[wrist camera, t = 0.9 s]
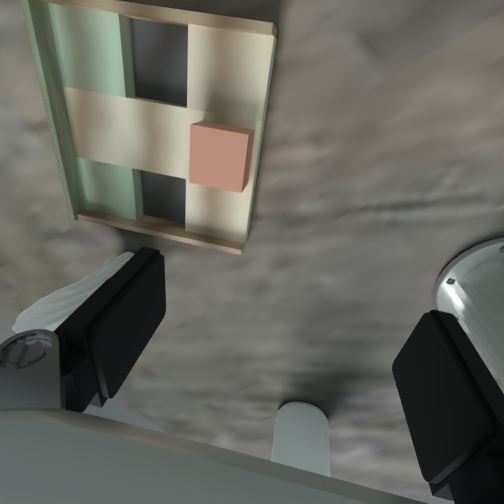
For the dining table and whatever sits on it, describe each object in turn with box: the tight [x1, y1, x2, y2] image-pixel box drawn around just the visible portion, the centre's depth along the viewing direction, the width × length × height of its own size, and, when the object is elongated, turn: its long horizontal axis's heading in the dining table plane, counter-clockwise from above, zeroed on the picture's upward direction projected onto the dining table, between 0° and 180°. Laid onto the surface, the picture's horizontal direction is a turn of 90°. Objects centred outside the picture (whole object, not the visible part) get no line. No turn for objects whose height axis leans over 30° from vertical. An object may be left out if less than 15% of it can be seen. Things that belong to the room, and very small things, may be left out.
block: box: [189, 121, 255, 193], centre depth 26 cm, size 5×5×3 cm
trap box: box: [21, 0, 278, 255], centre depth 28 cm, size 20×20×4 cm
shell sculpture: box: [12, 252, 134, 333], centre depth 32 cm, size 8×8×18 cm
